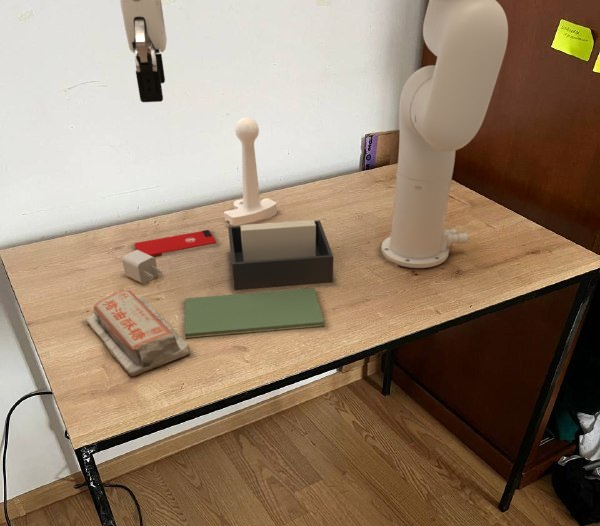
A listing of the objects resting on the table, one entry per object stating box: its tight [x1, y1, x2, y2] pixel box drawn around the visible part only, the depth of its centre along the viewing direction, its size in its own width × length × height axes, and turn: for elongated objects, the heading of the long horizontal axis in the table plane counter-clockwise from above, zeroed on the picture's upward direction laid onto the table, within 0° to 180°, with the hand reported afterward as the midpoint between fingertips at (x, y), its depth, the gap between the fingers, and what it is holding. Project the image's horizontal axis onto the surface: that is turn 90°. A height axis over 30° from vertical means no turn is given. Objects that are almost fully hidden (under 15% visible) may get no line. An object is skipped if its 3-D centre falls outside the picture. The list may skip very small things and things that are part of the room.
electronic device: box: [134, 229, 217, 257], centre depth 119 cm, size 6×1×15 cm
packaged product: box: [84, 289, 191, 377], centre depth 95 cm, size 18×5×10 cm
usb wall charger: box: [121, 249, 163, 285], centre depth 109 cm, size 4×7×4 cm, turn 50°
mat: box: [184, 287, 325, 340], centre depth 101 cm, size 22×10×1 cm, turn 98°
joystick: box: [223, 116, 278, 226], centre depth 123 cm, size 11×8×20 cm
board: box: [239, 219, 316, 262], centre depth 110 cm, size 13×2×8 cm, turn 98°
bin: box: [227, 219, 334, 291], centre depth 111 cm, size 17×14×6 cm
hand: (153, 91), depth 92 cm, fingers open, 9 cm apart
